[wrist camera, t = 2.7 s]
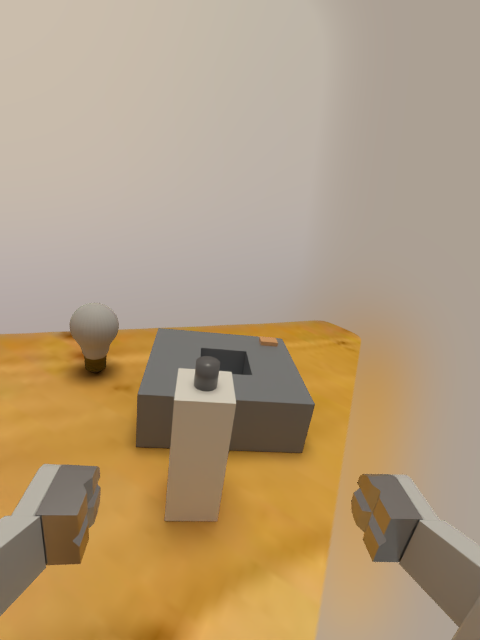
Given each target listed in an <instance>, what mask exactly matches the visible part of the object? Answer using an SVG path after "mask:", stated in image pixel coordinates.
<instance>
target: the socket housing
mask: <svg viewBox="0 0 480 640" xmlns="http://www.w3.org/2000/svg"><path fill="white" fill-rule="evenodd" d="M202 356H211V357H214V358H217V359H218V360H219V361H220V368H219V371H228V372H232V378H233V385H234V391H235V398H236V409H235V415H234V421H233V427H232V433H231V440H230V446H229V450H236V451H265V452H293V453H302V451H303V447H304V444H305V440H306V436H307V432H308V428H309V425H310V421H311V417H312V413H313V409H314V406H315V404H314V402H313V400H312V398H311V396H310V394H309V392H308V390H307V388H306V386H305V384H304V382H303V380H302V378H301V376H300V374H299V372H298V370H297V368H296V366H295V364H294V362H293V360H292V358H291V356H290V354H289V352H288V350H287V348H286V346H285V344H284V342H283V340H282V339H278V338H271V337H254V336H243V335H231V334H219V333H208V332H196V331H184V330H173V329H161V328H159V329H158V332H157V335H156V338H155V341H154V344H153V347H152V351H151V354H150V357H149V360H148V363H147V366H146V370H145V373H144V376H143V379H142V382H141V385H140V389H139V392H138V399H137V431H136V447H151V448H170V445H171V433H172V420H173V407H174V397H175V390H176V383H177V376H178V369H179V368H185V369H195V367H196V360H197V358H199V357H202Z"/></svg>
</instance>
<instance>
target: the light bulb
mask: <svg viewBox="0 0 480 640" xmlns="http://www.w3.org/2000/svg"><path fill="white" fill-rule="evenodd" d="M118 328H119V323H118V319H117V316H116V315H115V313H114V312H113V311H112V310H111V309H110V308H109V307H107V306H105V305H103V304H100V303H89V304H86V305H83V306H81V307H80V308H78V309H77V310H76V311H75V312H74V314H73V315H72V317H71V320H70V332H71V334H72V336H73V338H74V339H75V340H76V342H77V343H78V344H79V345H80V347H81V349H82V353H83V355H84V358H85V368H86V369H87V370H88V371H91V372H93V373H98V372H100V371H101V370H103V369H105V367H106V354H107V353H108V350H109V346H110V344H111V342H112V341H113V339H114V338H115V337H116V335H117V332H118Z"/></svg>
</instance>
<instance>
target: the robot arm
mask: <svg viewBox="0 0 480 640" xmlns="http://www.w3.org/2000/svg"><path fill="white" fill-rule="evenodd" d="M99 478H100V468H99V467H97V466H79V465H55V464H43V465H42V466H41V467H40V468H39V469H38V471H37V473H36V475H35V476H34V478H33V480H32V481H31V483H30V485H29V486H28V488H27V490H26V491H25V493H24V495H23V496H22V498H21V500H20V501H19V503H18V505H17V507H16V508H15V510H14V512H13V513H12V515H11V516H4V517H3V518H1V519H0V616H1V615H2V614H3V613H4V612H5V611H6V610H7V608H8V607H9V606H10V605H11V604H12V603H13V602H14V601H15V600H16V599H17V598H18V597H19V596H20V595H21V594H22V592H23V591H24V590H25V589H26V588H27V587H28V586H29V585H30V584H31V583H32V582H33V581H34V580H35V579H36V578H37V577H38V575H39V574H40V573H41V572H42V571H43V570H44V569H45V568H46V565H66V564H81V561H82V558H83V555H84V552H85V549H86V546H87V543H88V540H89V528H90V527H91V526H92V525H93V524H94V522H95V519H96V516H97V512H98V507H99V503H100V487H99V486H98V485H97V483H98V480H99ZM357 483H358V485H359V487H360V488H359V489H358V490H357V491H356V492H354V494H353V497H352V500H351V505H352V514H353V517H354V520H355V522H356V525H357V526H358V527H359V528H360V529H361V530H362V531H364V537H363V541H364V543H365V545H366V548H367V550H368V552H369V554H370V557H371V559H372V561H374V562H400V563H399V564H400V565H401V566H402V567H403V568H404V569H405V571H406V572H407V573H408V574H409V575H410V576H411V577H412V578H413V579H414V580H415V581H416V582H417V583H418V584H419V585H420V586H421V588H423V590H424V591H425V592H426V593H427V594H428V595H429V596H430V597H431V598H432V599H433V600H434V601H435V602H436V603H437V604H438V606H440V608H441V609H442V610H443V611H444V612H445V613H446V614H447V615H448V616H449V617H450V618H451V619H452V620H453V621H454V623H456V625H457V626H458V627H459V629H458V630H457V632H456V633H455V635H454V636H453V638H452V640H480V546H479V545H478V544H476V543H475V542H474V541H472V540H471V539H469V538H468V537H467V536H465V535H464V534H463V533H461V532H460V531H459V530H457V529H456V528H454V527H453V526H452V525H450V524H449V523H448V522H446V521H445V520H439V518H438V516H437V515H436V514H435V512H434V511H433V509H432V508H431V506H430V505H429V504H428V502H427V501H426V499H425V498H424V496H423V495H422V494H421V492H420V491H419V489H418V488H417V487H416V485H415V484H414V482H413V481H412V479H411V478H410V477H409V476H407V475H388V474H362V475H361V476H360V477H359V480H358V482H357Z"/></svg>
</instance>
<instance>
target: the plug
mask: <svg viewBox="0 0 480 640" xmlns="http://www.w3.org/2000/svg"><path fill="white" fill-rule="evenodd" d="M219 368H220V361H219V360H218V359H217V358H214V357H211V356H202V357H199V358H197V360H196V367H195V369H185V368H179V369H178V376H177V383H176V390H175V397H174V407H173V420H172V433H171V445H170V458H169V470H168V483H167V496H166V508H165V521H217V520H218V514H219V508H220V501H221V495H222V489H223V483H224V477H225V471H226V464H227V458H228V452H229V446H230V440H231V433H232V427H233V421H234V415H235V409H236V398H235V391H234V385H233V378H232V372H228V371H219Z"/></svg>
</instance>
